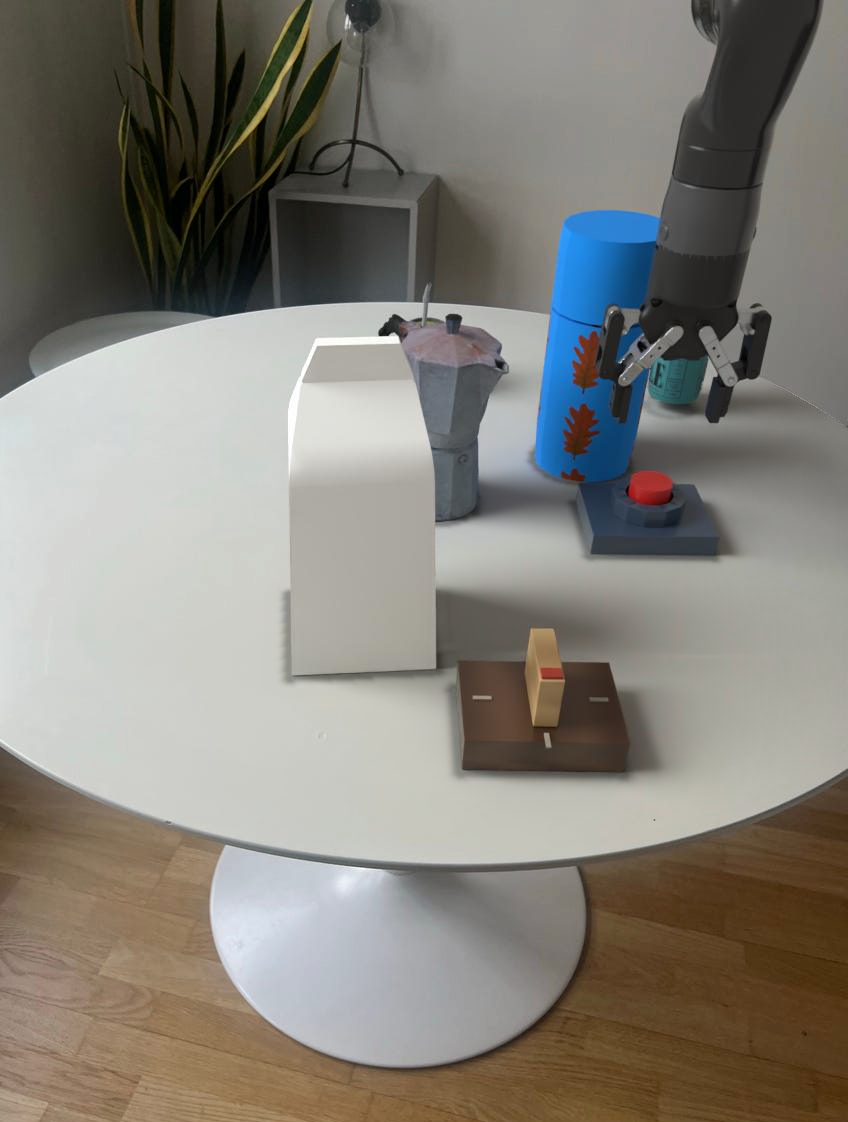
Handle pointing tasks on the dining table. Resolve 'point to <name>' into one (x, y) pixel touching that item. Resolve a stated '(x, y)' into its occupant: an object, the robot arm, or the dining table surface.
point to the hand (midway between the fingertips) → (665, 419)
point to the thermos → (592, 344)
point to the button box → (644, 521)
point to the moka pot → (451, 400)
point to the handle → (544, 677)
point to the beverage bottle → (677, 380)
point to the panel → (515, 744)
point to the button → (650, 488)
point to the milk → (360, 512)
